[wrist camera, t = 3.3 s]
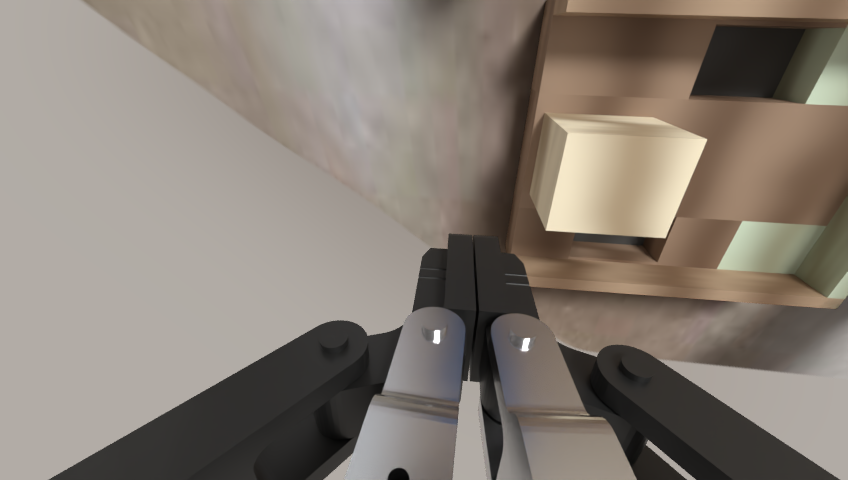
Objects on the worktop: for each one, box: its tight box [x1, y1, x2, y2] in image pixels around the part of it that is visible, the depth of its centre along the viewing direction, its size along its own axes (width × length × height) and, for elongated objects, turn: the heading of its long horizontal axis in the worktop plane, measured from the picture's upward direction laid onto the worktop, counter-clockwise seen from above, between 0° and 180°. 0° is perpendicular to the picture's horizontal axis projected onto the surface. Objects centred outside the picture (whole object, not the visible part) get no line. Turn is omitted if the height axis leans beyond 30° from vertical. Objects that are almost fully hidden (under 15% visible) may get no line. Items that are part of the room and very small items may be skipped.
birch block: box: [529, 113, 707, 238], centre depth 19 cm, size 6×5×5 cm
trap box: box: [505, 0, 848, 309], centre depth 21 cm, size 20×16×5 cm
